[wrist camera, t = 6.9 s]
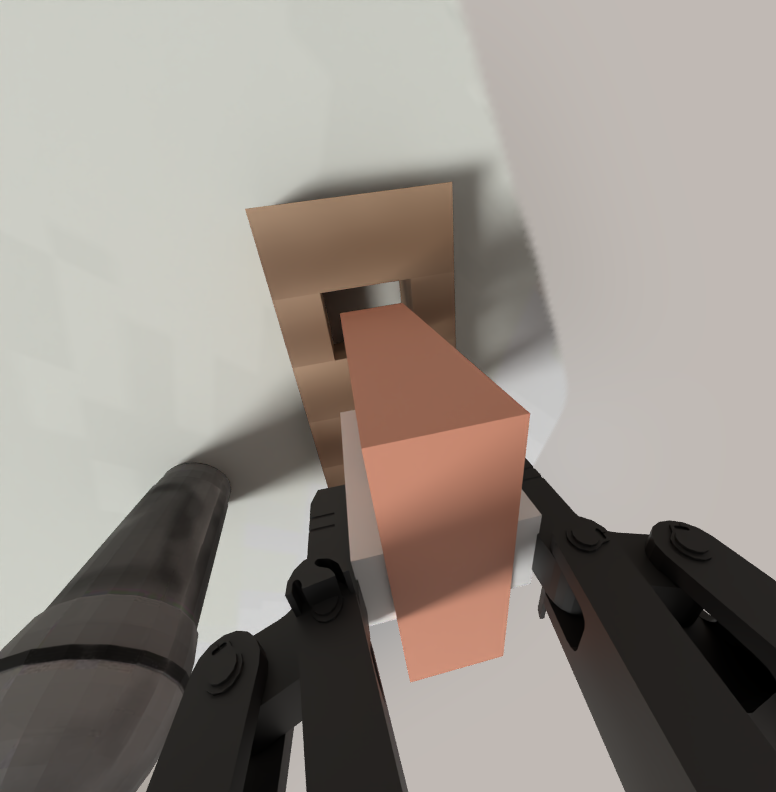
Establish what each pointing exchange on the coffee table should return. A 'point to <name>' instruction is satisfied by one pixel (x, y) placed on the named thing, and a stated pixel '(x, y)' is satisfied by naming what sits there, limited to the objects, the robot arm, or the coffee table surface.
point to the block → (438, 485)
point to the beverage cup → (113, 647)
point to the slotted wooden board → (351, 283)
